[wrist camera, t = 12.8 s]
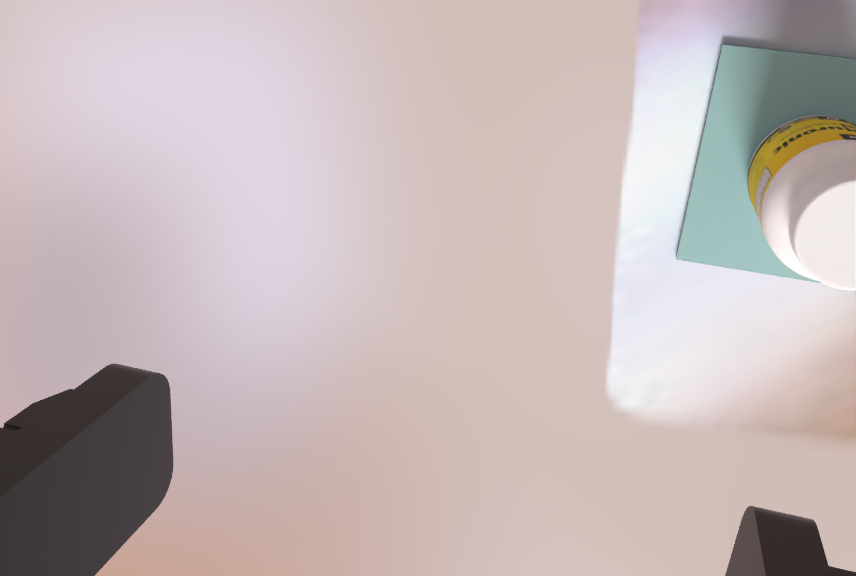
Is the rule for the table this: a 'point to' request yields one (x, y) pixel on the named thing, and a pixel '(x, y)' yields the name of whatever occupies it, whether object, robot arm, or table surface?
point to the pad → (753, 147)
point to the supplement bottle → (809, 197)
